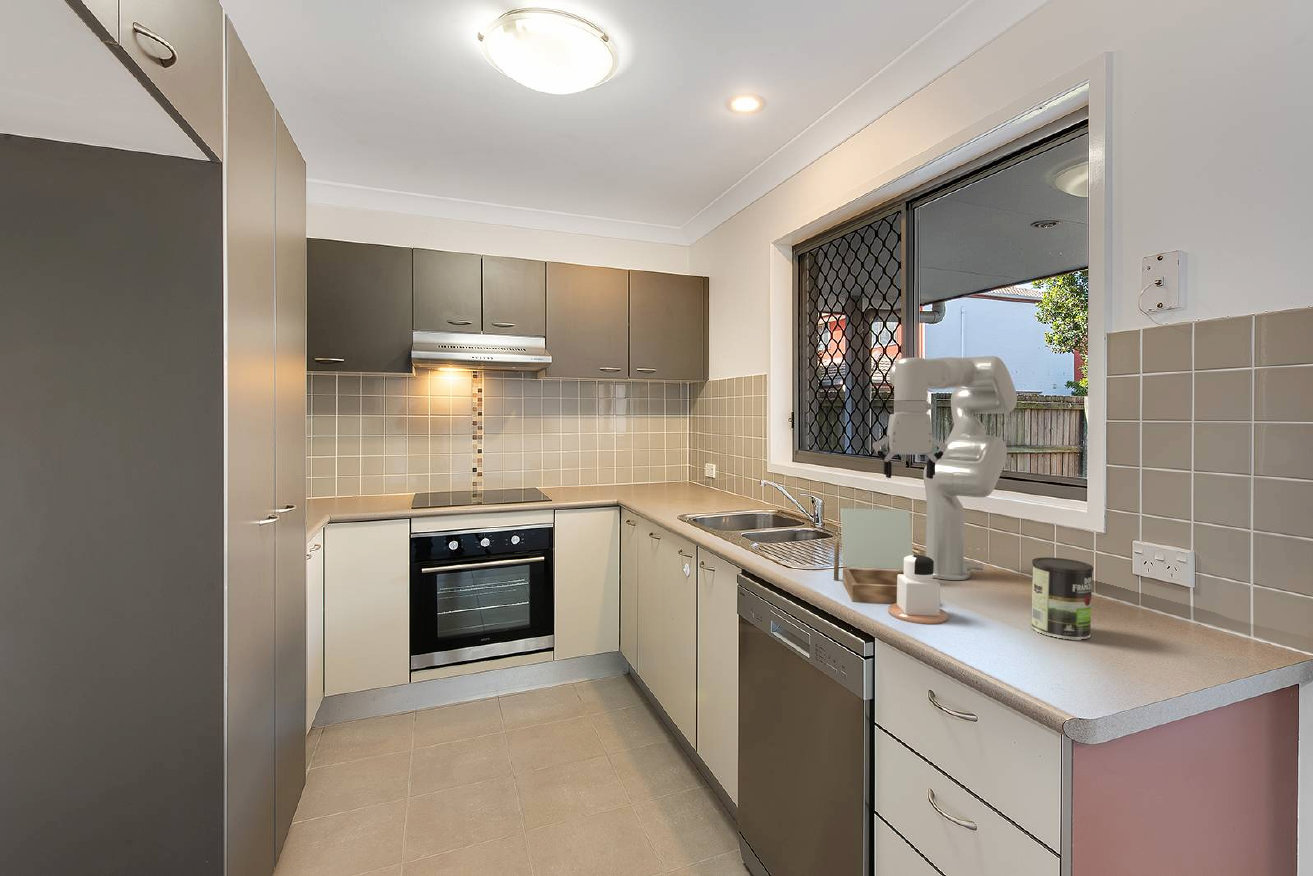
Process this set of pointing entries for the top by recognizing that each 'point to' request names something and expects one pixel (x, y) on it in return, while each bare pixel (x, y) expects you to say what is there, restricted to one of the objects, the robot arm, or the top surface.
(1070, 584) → the coffee can
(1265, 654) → the top surface
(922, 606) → the medicine bottle
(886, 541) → the lid
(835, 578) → the prop stake
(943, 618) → the saucer
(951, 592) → the top surface
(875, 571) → the frame
